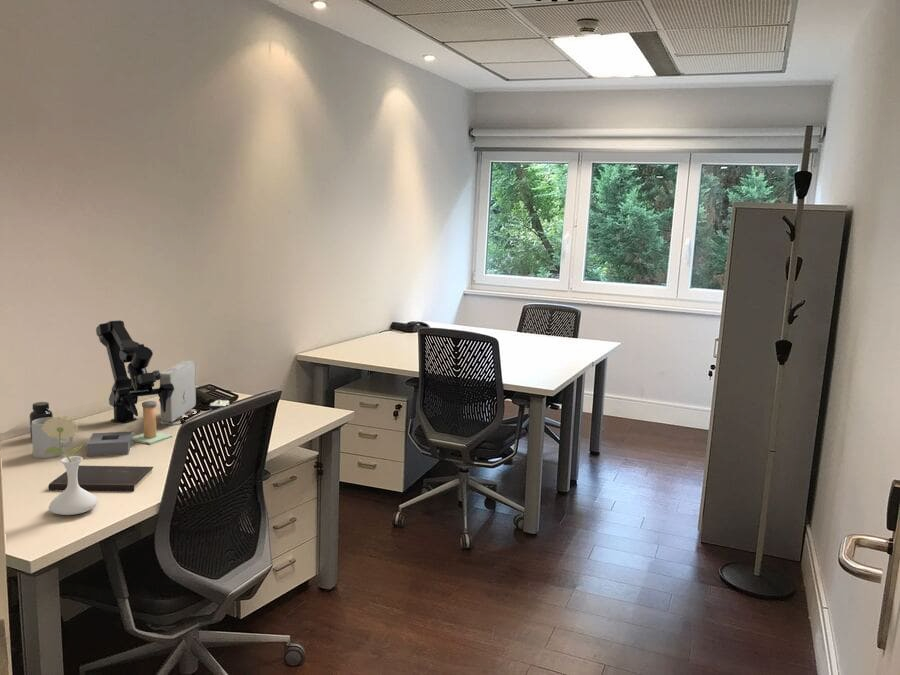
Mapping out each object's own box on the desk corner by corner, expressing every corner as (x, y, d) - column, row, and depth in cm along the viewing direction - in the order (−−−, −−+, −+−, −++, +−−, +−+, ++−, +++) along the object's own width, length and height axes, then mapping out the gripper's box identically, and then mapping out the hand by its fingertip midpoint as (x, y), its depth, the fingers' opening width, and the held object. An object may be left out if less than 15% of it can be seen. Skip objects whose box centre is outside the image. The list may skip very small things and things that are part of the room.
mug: (27, 458, 225) (25, 423, 224) (41, 449, 234) (40, 416, 232) (66, 459, 226) (65, 424, 224) (79, 450, 234) (78, 417, 233)
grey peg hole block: (93, 444, 241) (93, 433, 240) (132, 442, 244) (132, 431, 244) (87, 456, 229) (86, 443, 229) (128, 453, 233) (128, 441, 232)
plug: (140, 438, 247) (139, 404, 245) (146, 434, 252) (145, 401, 250) (154, 438, 247) (153, 404, 245) (159, 435, 252) (158, 401, 250)
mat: (128, 440, 247) (128, 438, 247) (150, 432, 256) (150, 431, 256) (150, 444, 243) (150, 442, 243) (172, 436, 252) (172, 435, 252)
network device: (177, 427, 263) (176, 373, 260) (153, 426, 263) (151, 372, 260) (201, 409, 289) (201, 360, 286) (179, 409, 289) (178, 359, 286)
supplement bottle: (25, 439, 244) (24, 404, 242) (43, 433, 250) (42, 400, 248) (40, 441, 241) (38, 406, 240) (58, 436, 248) (56, 402, 246)
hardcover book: (74, 472, 216) (74, 465, 216) (153, 474, 218) (153, 466, 217) (48, 492, 200) (48, 484, 200) (134, 493, 202) (133, 485, 202)
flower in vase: (106, 503, 193) (103, 412, 189) (83, 520, 182) (79, 424, 178) (58, 500, 193) (54, 409, 190) (32, 517, 182) (27, 421, 178)
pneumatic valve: (230, 428, 265) (230, 396, 264) (222, 437, 254) (222, 404, 252) (215, 427, 265) (214, 395, 263) (206, 437, 254) (205, 403, 252)
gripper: (115, 365, 242) (127, 404, 236) (171, 360, 255) (184, 397, 248) (109, 384, 249) (120, 422, 243) (164, 378, 262) (176, 414, 255)
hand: (151, 413), depth 247 cm, fingers open, 9 cm apart
